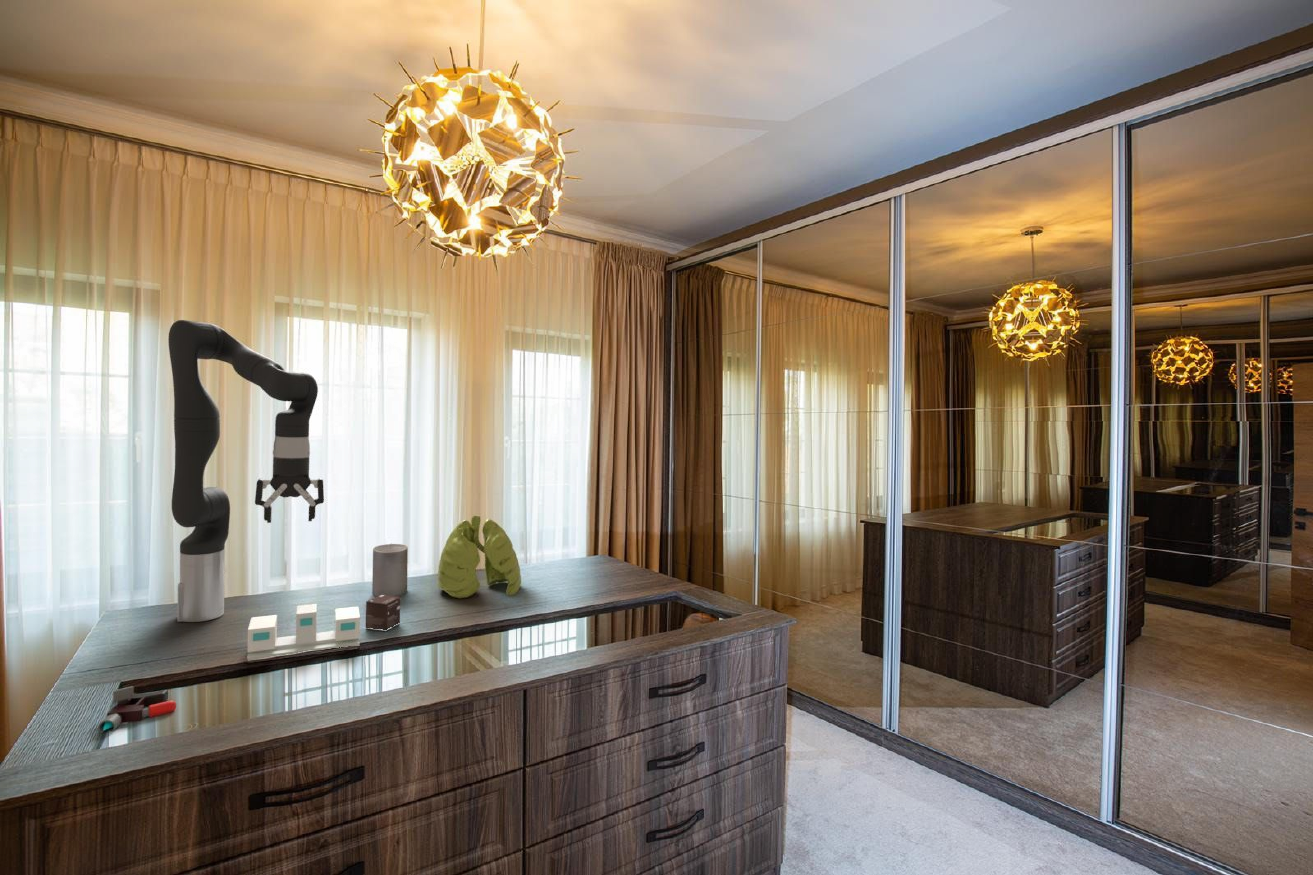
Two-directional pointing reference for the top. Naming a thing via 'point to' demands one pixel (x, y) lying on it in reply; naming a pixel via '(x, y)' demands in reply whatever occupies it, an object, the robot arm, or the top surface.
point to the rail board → (268, 644)
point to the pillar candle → (390, 570)
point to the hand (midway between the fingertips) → (289, 521)
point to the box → (382, 612)
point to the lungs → (477, 559)
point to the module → (306, 623)
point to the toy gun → (135, 707)
